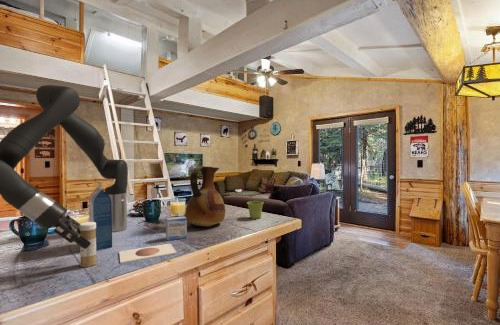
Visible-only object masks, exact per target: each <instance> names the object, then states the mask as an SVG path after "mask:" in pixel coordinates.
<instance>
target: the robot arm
mask: <svg viewBox="0 0 500 325" xmlns="http://www.w3.org/2000/svg"><path fill="white" fill-rule="evenodd" d="M35 97H36V101H37V103H38V105H39V106H40V107H41V109H42V111H41V112H39V114H37V115H35V116H33V117H32V118H28V119H27V120H26V121H24V122H21V123H20V124H18V125H17V126H15V127H14V128H13V129H11V130H10V131H9V132H8V133H7V134H5V136H4V137H3V138H2V139H1V140H0V196H1V197H2V199H3V200H4V201H5V202H6V204H7V203H8V204H9V205H11V207H13V208H15V209H16V210H18V211H19V212H20V213H21V214H23V216H25V217H26V218H28V219H29V220H31V221H32V222H34V223H35V224H37V225H38V226H39V227H41V228H42V229H44V230H49V229H50V228H51V227H54V230H53V232H54V233H56V234H57V235H58V236H60V237H61V238H63V239H65V241H67V242H68V243H70V244H72V243H75V244H76V245H78V246H79V247H80V246H81V247H83V248H84V249H86V248H87V247H88V246H89V245H90V244H91V243H90V242H89V241H88V240H87V239H85V238H84V237H82V236H81V235H80V230H79V225H80V224H81V223H80V222H78V221H77V220H75V219H74V218H73V217H70V216H71V215H66V216H64V215H65V214H67V212H68V209H67V208H65V207H64V206H62V205H61V204H60V203H59V202H57V201H56V200H55V199H53V198H52V197H50V196H49V195H47V194H46V193H43V191H40V189H37V188H36V187H35V186H33V185H32V184H30V182H28V181H26V180H25V179H24V178H23V177H22V176H21V175H20V174H19V173H18V172H17V171H16V170H15V169H16V167H17V166H18V164H19V163H20V162H21V161H22V160H23V159H24V158H25V157H26V156H27V155H28V154H29V153H30V152H31V151H32V150H33V148H35V146H36V145H37V144H38V143H39V142H40V141H41V140H42V139H43V138H44V137H45V136H46V135H47V134H48V133H49V132H51V131H52V130H53V129H54V128H56V127H57V126H59V125H60V126H61V128H63V130H64V131H65V132H66V134H68V135H69V137H70V138H71V139H72V140H73V141H74V143H75V144H76V145H77V146H78V147H79V148H80V149H81V150H82V151H83V152H84V155H85V154H86V156H87V157H88V158H89V160H90V161H91V162H92V163H93V166H94V167H95V169H97V171H98V172H99V174H100V176H101V177H102V178H104V179H107V180H115V181H114V183H113V184H112V185H110V186H107V187H105V189H104V192H105V193H106V194H108V196H109V197H110V199H111V211H112V233H113V232H121V231H124V230H127V228H128V205H127V204H128V203H127V202H128V200H127V198H128V197H127V196H128V194H127V190H128V178H129V177H128V176H129V174H128V173H129V168H128V167H129V166H128V163H127V161H126V160H124V159H109V158H108V157H106V155H105V154H104V151H105V145H106V143H105V139H104V137H103V136H102V135H101V133H100V132H99V131H98V130H97V128H96V127H95V126H94V125H92V124H91V123H89V122H88V121H86V120H85V119H84V118H82V117H81V116H79V115H78V114H76V113H75V111H76V110H77V109H78V108H79V106H80V103H81V99H80V95H79V94H78V92H77V90H76V89H74V88H72V87H70V86H65V85H64V86H62V85H55V84H46V85H40V87H38V88H37V89H36V93H35Z"/></svg>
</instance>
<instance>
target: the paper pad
mask: <svg viewBox="0 0 500 325" xmlns="http://www.w3.org/2000/svg"><path fill="white" fill-rule="evenodd" d="M118 253H119V254H118V255H119V263H120V264H126V263H132V262H136V261H142V260H147V259H153V258H159V257H163V256H171V255H175V254H177V253H178V252H177V250H176V249H175V248H174V246H173V245H172V243H165V244H164V243H163V244H159V245H152V246H146V247H145V246H144V247H140V248H133V249H127V250H120V251H118Z"/></svg>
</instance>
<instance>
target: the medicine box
mask: <svg viewBox="0 0 500 325" xmlns="http://www.w3.org/2000/svg"><path fill="white" fill-rule="evenodd" d="M187 225H188V222H187V218H186V217H185V216H175V217H167V218H165V238H166V240H167V241H168V242H169V241H177V240H182V239H187V237H188V234H187V232H188V231H187V230H188V228H187Z"/></svg>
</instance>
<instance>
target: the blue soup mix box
mask: <svg viewBox="0 0 500 325" xmlns="http://www.w3.org/2000/svg"><path fill="white" fill-rule="evenodd" d="M96 185H97V187H96V188H95V189H94V190H93V191H92V192H91V194H90V195H89V201H88V204H89V205H88V206H89V222H96V251H99V250H103V249H104V250H105V249H109V248H112V247H113V232H112V211H111V199H110V197H109V196H108V194H106V193H105V190H103V182H102V181H100V180H97V184H96Z"/></svg>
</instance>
